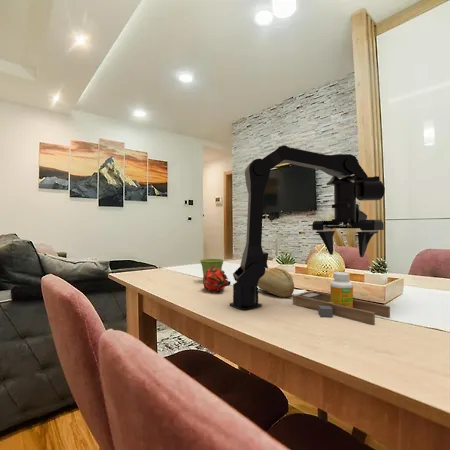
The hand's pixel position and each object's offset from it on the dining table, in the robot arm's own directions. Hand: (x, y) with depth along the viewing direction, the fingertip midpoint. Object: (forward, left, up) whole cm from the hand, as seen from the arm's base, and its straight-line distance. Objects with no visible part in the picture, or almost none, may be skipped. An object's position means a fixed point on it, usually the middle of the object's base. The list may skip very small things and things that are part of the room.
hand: (345, 255), depth 84 cm
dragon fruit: (-19, +36, -14) cm, 43 cm away
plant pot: (-11, +49, -14) cm, 52 cm away
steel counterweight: (-8, +6, -13) cm, 17 cm away
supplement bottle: (-8, -3, -14) cm, 16 cm away
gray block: (-15, -3, -13) cm, 20 cm away
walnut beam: (-8, -3, -13) cm, 16 cm away
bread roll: (-6, +21, -14) cm, 26 cm away
